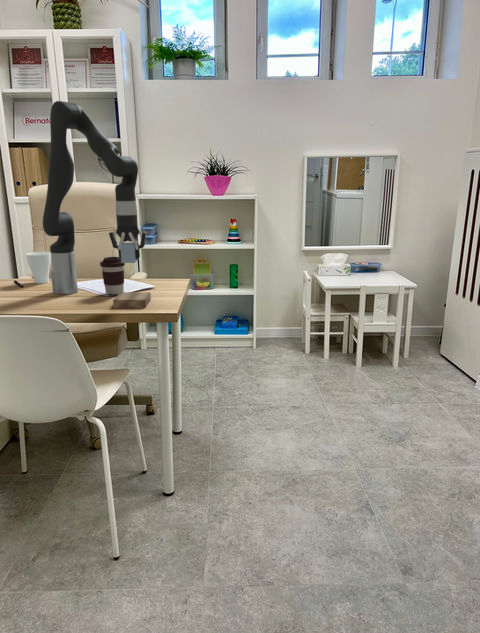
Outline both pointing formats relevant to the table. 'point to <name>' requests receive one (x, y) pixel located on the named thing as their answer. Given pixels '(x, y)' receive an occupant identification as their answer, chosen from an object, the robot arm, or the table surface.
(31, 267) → the cup
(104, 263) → the coffee cup
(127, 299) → the base
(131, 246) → the block
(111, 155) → the robot arm
